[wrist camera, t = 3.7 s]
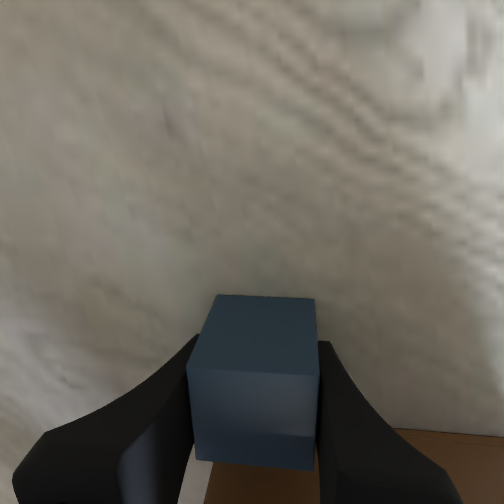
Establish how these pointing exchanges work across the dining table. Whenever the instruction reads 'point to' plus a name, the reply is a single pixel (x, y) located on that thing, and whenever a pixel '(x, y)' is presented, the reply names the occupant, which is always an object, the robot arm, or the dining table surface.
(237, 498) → the carton
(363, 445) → the robot arm
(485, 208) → the dining table surface
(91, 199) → the dining table surface
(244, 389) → the block
